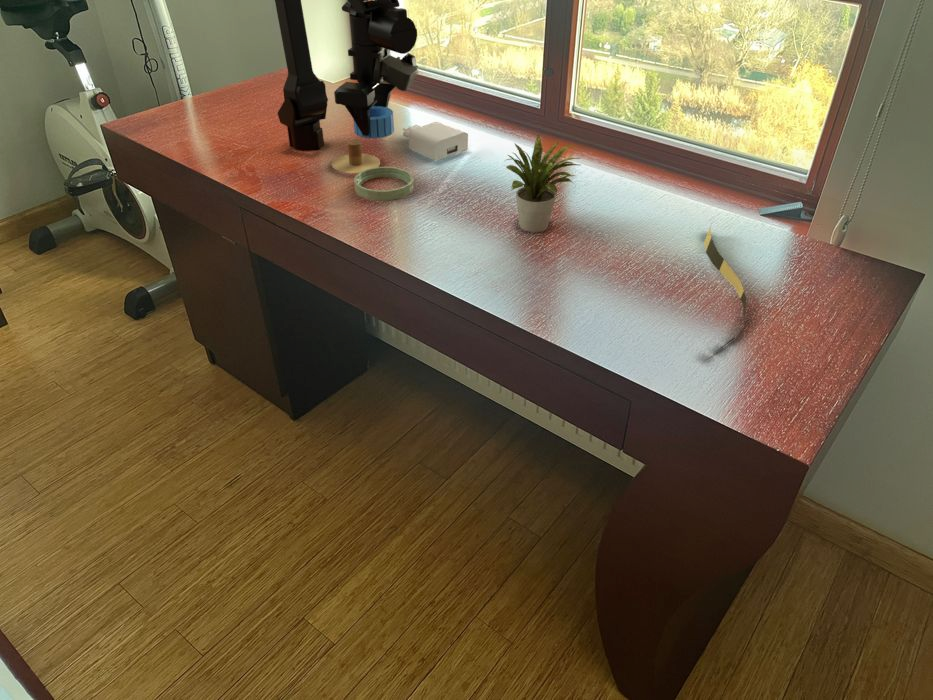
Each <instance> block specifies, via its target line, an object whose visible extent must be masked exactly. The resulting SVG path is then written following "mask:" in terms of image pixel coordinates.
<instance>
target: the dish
mask: <svg viewBox="0 0 933 700" xmlns="http://www.w3.org/2000/svg"><path fill="white" fill-rule="evenodd" d="M379 178H393V179H398V180H402V181H403V182H405V183H406V184H405V185H403V186H402V187H397V188H395V189H394V188H393V189H388V190H379V189H378V190H376V189H369V188H367V187H363V186H362V185H363V183H365V182H367V181H370V180H373V179H379ZM414 179H415V178H414V175H413V174H412V173H411V172H410V171H408V170H406V169H404V168H400V167H394V166H378V167H375V168H370V169H366V170H364V171H362V172H360V173H356V175H354V178H353V187H354V191H355V193H356V195H358V196H359V197H361V198H364V199H366V200H369V201H377V202H378V201H380V202H383V201H384V202H385V201H394V200H399V199H402V198H404V197H407V196H408V195H410V194H412V192H413V191H414V187H415V183H414V181H415V180H414Z"/></svg>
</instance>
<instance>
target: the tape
mask: <svg viewBox="0 0 933 700" xmlns="http://www.w3.org/2000/svg"><path fill="white" fill-rule="evenodd" d="M713 221H714V220H712V223H713ZM712 237H713V236H712V225H710V226H709V229H708V232H707V234H706V236H705V239H704V241H703V244H704V249H705V254H706V255H707V257H708V259H709V260H710V262H711V264H712V265H713V266H714V267H715V269H717V270H718V272H719V273H720V274H721V275H722V276H723V277H724V278H725V279H726V281H728V282H729V283H730V284H731V286H733V287H734V288H735V290H736V293H737V295H738V297H739V299H740V301H741V303H742V321H744V320H745V319H746V315H747V300H748V299H747V295H746V293H745V290H744V288H743V284H742V281H741V279H740V278H739V276H738V275H737V274H736V273H735V272H734V270H733V269H732V268H731V267H730V265H729V264H728V263H727V262H726V260H725V258H724V257H723V256H722V255H721V253H720V252H719V251H718V249H717V247H716V245H715V242H714V240H713V238H712ZM735 339H736V336H734V337H732V338H731V339H730V340H729V341H727V342H726V343H725V344H723V345H722V346H721V347H719V348H718V349H717V350H715V351H714V352H713V353H712V354H711V355H709V356H708V358H710V357H711V356H713V355H714V354H716V353H717V352H718V351H720V350H721V349H723V348H724V347H726V346H727V345H728V344H730V343H731V342H732V341H734V340H735ZM706 360H707V358H705V359H704V361H706Z"/></svg>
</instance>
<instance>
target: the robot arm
mask: <svg viewBox="0 0 933 700" xmlns="http://www.w3.org/2000/svg"><path fill="white" fill-rule="evenodd" d="M274 4H275V8H276V9H275V10H276V14H277V20H278V24H279V25H278V26H279V31H280V37H281V41H282V47H283V52H284V57H285V63H286V68H287V77H286V79H285V83H284V85H283V87H282V88H283V89H282V91H283V99H284V100H283V103H282V104H281V106H280V108H279V109H278V111H277V116H278V119H279V122H280V124H282V125H284V126H286V128H287V137H288V142H289V143H288V144H289V147H290V148H292V149H294V150H296V151H299V152H309V151H320V150H321V149H322V148H323V147H325V141H324V131H323V127H321V122H320V121H321V120H326V118H327V117H326V116H327V110H328V109H327V108H328V101H329V98H328V96H327V91H326V84H325V82H324V80H320V79H319V78H318V76H317V75H316V74H315V73H314V69H313V65H312V59H311V52H310V47H309V46H310V45H309V39H308V33H307V28H306V21H305V17H304V10H303V5H302V0H274ZM399 7H400V2H399V0H346V2H345V3H344V4H343V5H342V6H341V11H343V12H344V13H348V14H349V15H348V16H349V27H350V40H351V47H350V48H348V50H347V55H348V57H352V64H353V71H352V72H350V73H349V78H350V80H352V81H345V82H344V83H343V84H341V85H340V86H338V87H337V88H336V89H335V91H334V103H335V104H336V105H340V106H344V107H345V108H346V110H347V112H348V113H349V115H350V116H351V118H352V119H353V122H354V121H355V122H356V124H357V126H358V128H359V129H360V131H361V133H362V134H363V135H364V136H368V135H369V130H370V111H371V108H372V107H373V106H382V107H387V108H389V104H390V103H389V102H390V99H391V94H392V92H393V90H394V89H396V88H397V90H399V91H402V92H405V91H406V92H407V91H408V89H409V88H410V87H412V86H413V84H414V81H415V78H416V76H417V75H418V74H419V69H418V68H419V66H418V65H417V59H416V56H415V55H414V54H412V53H409V52H411V50H413V48H414V47H415V46H416V43H417V39H418V29H417V28H416V24H415V23H414V21H413V20H412V19H411V18H410V17H408V11H407V9H406V8H404V7H403V8H399ZM391 52H394V53H397V54H401V55H403V57H402V58H401V57H400V56H397V57H395V56H393V55H391ZM404 54H406V55H404ZM353 81H354V82H353ZM355 81H357V82H355Z"/></svg>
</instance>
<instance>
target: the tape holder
mask: <svg viewBox="0 0 933 700" xmlns="http://www.w3.org/2000/svg"><path fill="white" fill-rule="evenodd" d="M347 152H348V154H343V155H341V156H338V157H336V158H334V159H333V160H332V162H331V167H332V168H333V169H334V170H335V171H338V172H341V173H347V174H358V173H360V172H362V171H364V170H366V169H370V168H375V167H380V165H381V160H380V158H378V157H377V156H375V155H373V154H368V153H363V147H362V141H361V140H358V139H351V140H348V141H347Z"/></svg>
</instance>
